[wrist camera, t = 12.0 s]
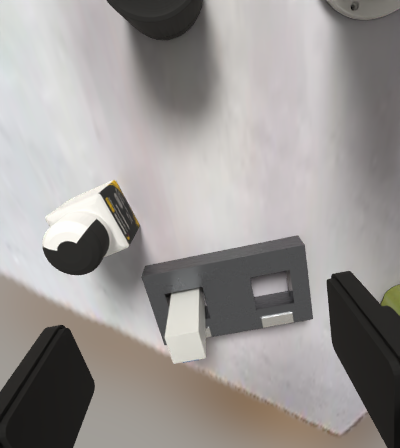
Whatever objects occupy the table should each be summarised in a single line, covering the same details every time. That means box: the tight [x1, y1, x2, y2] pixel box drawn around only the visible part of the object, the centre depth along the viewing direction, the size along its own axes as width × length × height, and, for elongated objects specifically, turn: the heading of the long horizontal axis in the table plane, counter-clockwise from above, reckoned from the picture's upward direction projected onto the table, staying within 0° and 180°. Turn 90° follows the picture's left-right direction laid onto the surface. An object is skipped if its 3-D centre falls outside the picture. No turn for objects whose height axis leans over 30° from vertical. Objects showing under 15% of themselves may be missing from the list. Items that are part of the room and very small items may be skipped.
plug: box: [165, 287, 206, 364], centre depth 41 cm, size 4×5×11 cm
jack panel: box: [142, 236, 313, 345], centre depth 44 cm, size 22×12×3 cm, turn 103°
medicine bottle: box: [42, 180, 139, 275], centre depth 36 cm, size 7×7×12 cm
